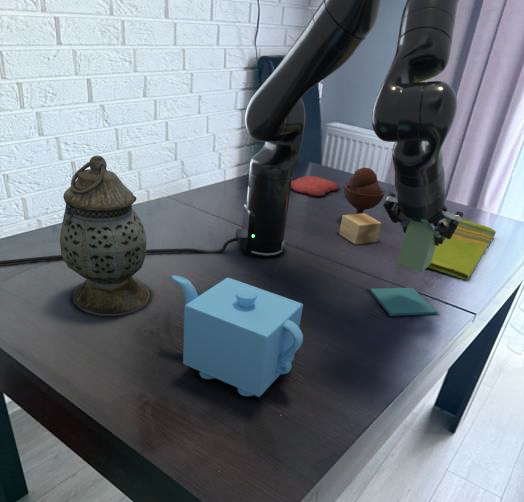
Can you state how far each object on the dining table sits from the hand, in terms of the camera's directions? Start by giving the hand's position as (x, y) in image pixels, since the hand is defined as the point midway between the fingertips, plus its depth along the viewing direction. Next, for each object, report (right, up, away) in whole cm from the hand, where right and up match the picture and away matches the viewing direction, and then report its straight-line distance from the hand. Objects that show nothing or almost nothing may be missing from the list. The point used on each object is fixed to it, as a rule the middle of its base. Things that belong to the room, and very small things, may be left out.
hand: (424, 236), depth 96 cm
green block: (-2, -5, +2) cm, 5 cm away
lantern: (-59, -12, -4) cm, 60 cm away
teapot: (-36, -24, -17) cm, 47 cm away
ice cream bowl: (-5, +13, +42) cm, 45 cm away
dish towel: (+18, +4, +34) cm, 39 cm away
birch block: (-6, +7, +33) cm, 35 cm away
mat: (-2, -12, +6) cm, 14 cm away
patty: (-15, +30, +65) cm, 73 cm away
